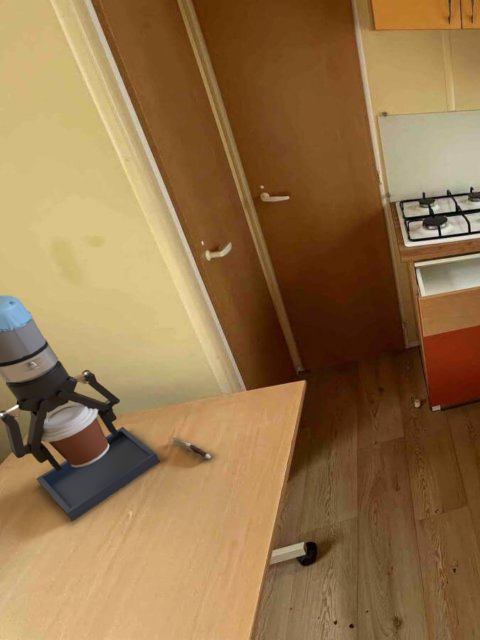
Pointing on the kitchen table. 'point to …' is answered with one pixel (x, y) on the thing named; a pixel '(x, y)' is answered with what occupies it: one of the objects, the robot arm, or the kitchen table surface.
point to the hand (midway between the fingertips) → (86, 449)
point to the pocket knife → (194, 449)
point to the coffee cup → (75, 434)
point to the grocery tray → (98, 474)
